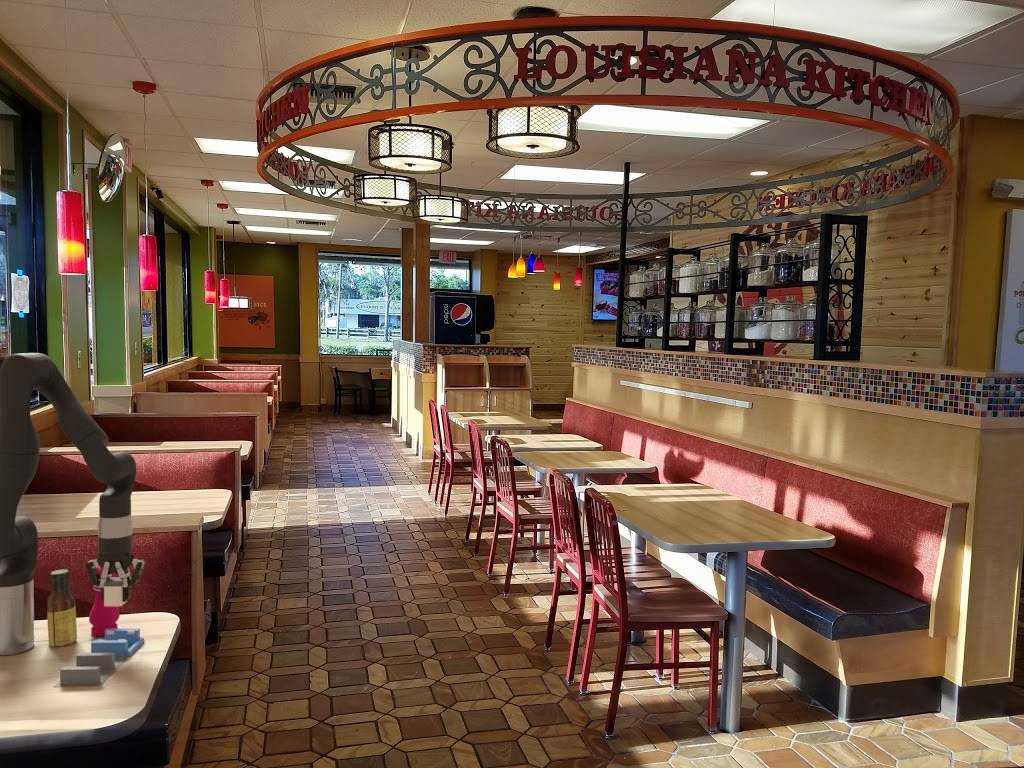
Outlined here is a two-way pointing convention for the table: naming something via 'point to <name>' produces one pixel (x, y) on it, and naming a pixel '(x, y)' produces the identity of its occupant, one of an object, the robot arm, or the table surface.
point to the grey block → (113, 592)
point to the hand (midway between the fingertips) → (116, 600)
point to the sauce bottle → (61, 611)
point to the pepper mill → (102, 613)
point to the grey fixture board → (101, 659)
